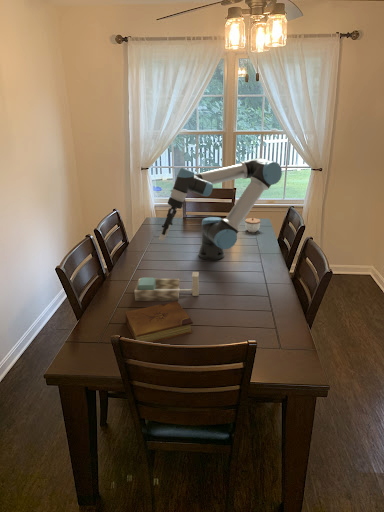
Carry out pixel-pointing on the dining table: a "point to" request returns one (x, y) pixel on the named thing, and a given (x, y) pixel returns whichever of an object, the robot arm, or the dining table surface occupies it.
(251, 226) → the lidded jar
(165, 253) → the dining table surface
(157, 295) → the lane
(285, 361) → the dining table surface
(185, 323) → the diary
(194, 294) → the block sled
